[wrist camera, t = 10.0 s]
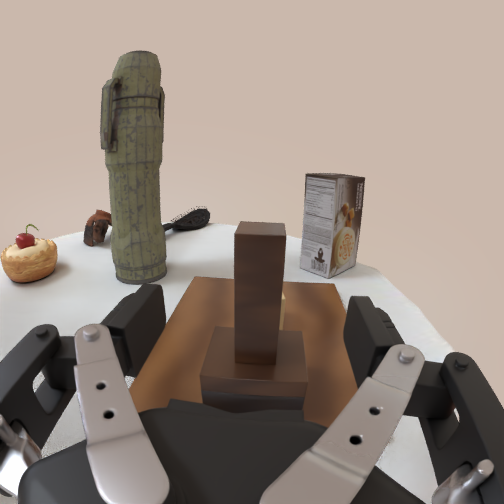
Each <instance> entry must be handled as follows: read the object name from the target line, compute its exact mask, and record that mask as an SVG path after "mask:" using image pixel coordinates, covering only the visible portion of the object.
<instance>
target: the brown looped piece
mask: <svg viewBox="0 0 504 504" xmlns="http://www.w3.org/2000/svg"><path fill="white" fill-rule="evenodd" d="M94 222H95V225H94ZM93 225H94V226H93ZM108 225H111V226H112V218H111V214H110V213H107V212H105V211H102V210H97V211H96V214H94V215H93V216H91V217H90V218H89V220H88V221H87V223H86V226H85V231H84V243H86V244H88V245H90V246H93V240H94V241H95V242H97V243H101V242H104V239H105V234H106V232H107V229H108Z"/></svg>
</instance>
